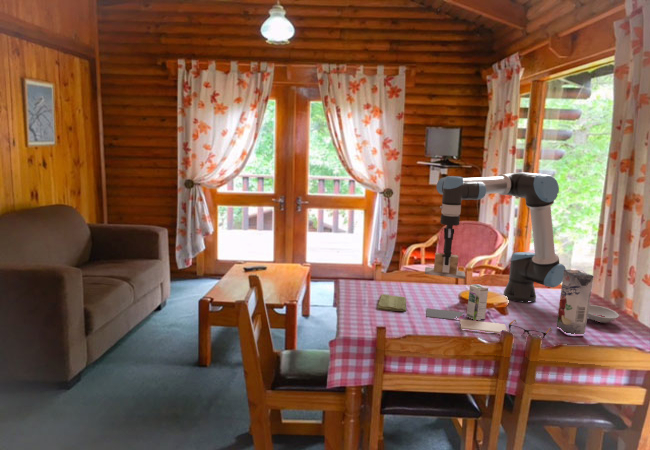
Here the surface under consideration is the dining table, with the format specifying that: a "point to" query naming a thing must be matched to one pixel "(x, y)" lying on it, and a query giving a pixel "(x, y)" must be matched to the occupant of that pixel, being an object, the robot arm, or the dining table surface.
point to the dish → (601, 313)
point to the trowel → (439, 266)
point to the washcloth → (392, 303)
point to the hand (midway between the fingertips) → (445, 270)
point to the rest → (482, 326)
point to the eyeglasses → (526, 330)
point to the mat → (442, 314)
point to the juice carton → (574, 301)
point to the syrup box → (477, 302)
